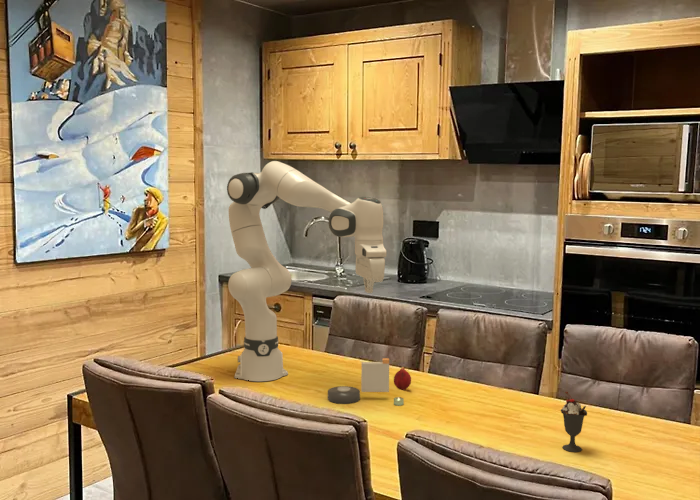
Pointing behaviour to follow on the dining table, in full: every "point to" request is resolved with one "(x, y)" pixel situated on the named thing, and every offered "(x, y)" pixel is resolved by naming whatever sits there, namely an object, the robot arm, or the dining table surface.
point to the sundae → (573, 422)
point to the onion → (402, 379)
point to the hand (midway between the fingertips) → (368, 292)
